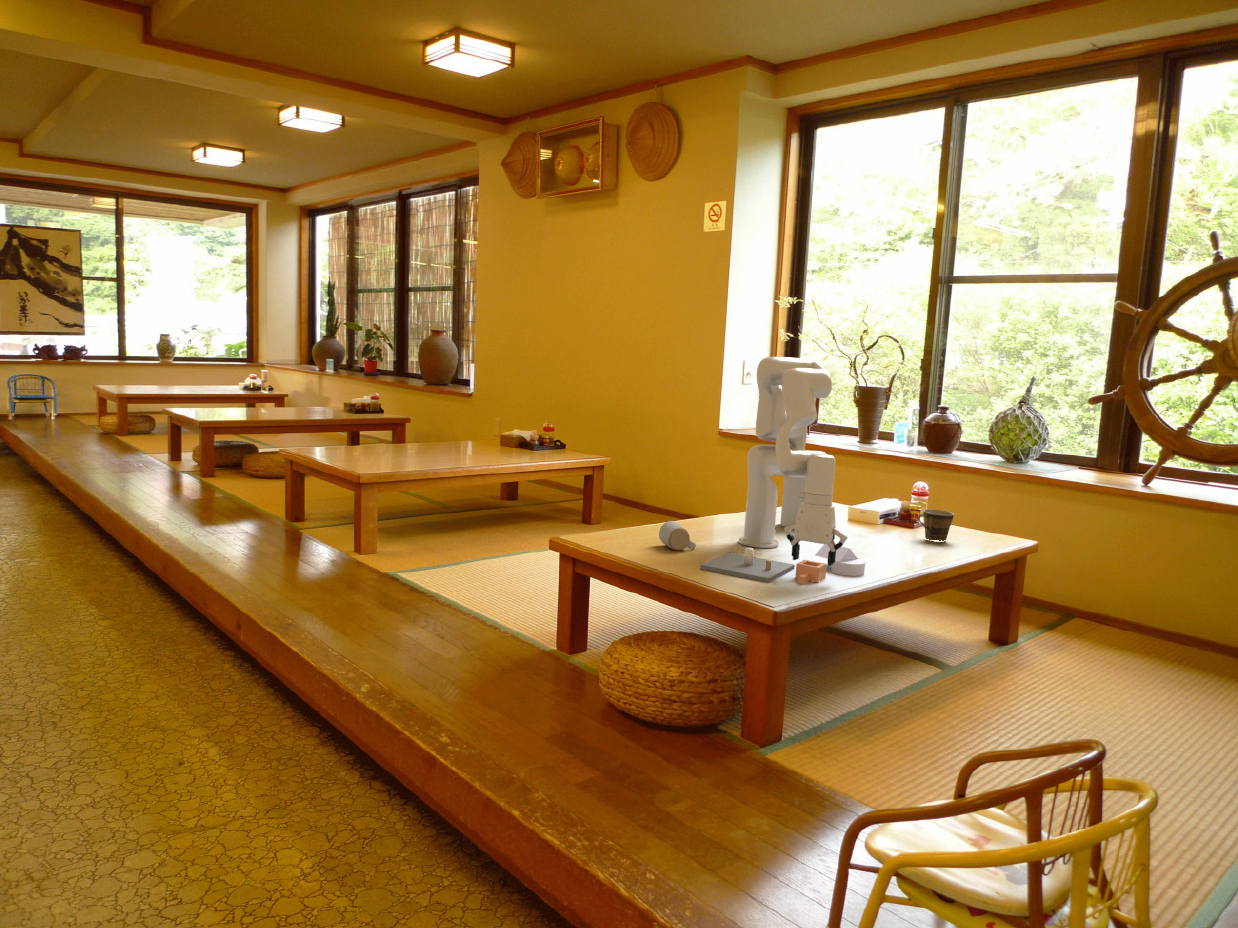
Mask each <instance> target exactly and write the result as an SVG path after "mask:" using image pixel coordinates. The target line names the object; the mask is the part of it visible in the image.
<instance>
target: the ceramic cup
mask: <svg viewBox="0 0 1238 928" xmlns="http://www.w3.org/2000/svg"><path fill="white" fill-rule="evenodd" d="M921 517H923V522H922V521H921V519H920V518H921ZM954 517H955V513H954V512H950V511H947V510H946V511H945V510H942V509H941V510H940V509H924V510H923V511H922V513H921V514H919V515H918V518H917V520H918V522H919V524H921V525H922V526H923V528H924V537H925V538H926V539H929V540H939V541H941V540H942V541H944V540H946V541H947V538H948V534H949V532H950V529H951V526H952V523H953V520H954ZM925 538H924V539H925Z"/></svg>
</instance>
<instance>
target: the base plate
mask: <svg viewBox="0 0 1238 928" xmlns="http://www.w3.org/2000/svg"><path fill="white" fill-rule="evenodd" d="M744 549H745V550H744V554H740V553H735V552H727V553H725V554H723V555H720V556H718V557H715V558H713V559H710V560H709V561H706V562H704V563H700V567H699V568H700V570H704V571H708V572H709V571H710V572H714V573H719V574H725V575H728V576H734V577H740V578H743V579H749V580H754V581H758V580H760V581H759V582H763V581H765V582H764V583H768V582H769V583H771V582H773V581H775V580H776V579H778V578H780V577H782V576H785V574H788V573H789V572H791V571H793V570H794V569H795V568H796V566H795V565H796V564H793V563H788V562H782V561H779V560H778V561H777V560H772V559H770V560H771V570H766V560H768V559H766V558H762V557H761V558H760V557H756V556H754V552H755V549H754V547H753V548H752V547H745V548H744ZM772 580H773V581H772ZM770 581H771V582H770Z"/></svg>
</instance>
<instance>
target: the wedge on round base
mask: <svg viewBox="0 0 1238 928" xmlns="http://www.w3.org/2000/svg"><path fill="white" fill-rule="evenodd" d="M829 551H830V548H829V547H828V545H827V544H823V545H822V546H821V548H820V549H819V550H818V551H817V552H816V553H815V554H814V556H817V557H818V558H819V557H820V558H822V559H823V558H824V559H827V560H828V552H829ZM865 569H866V561H865V560H864V559H860V558H858V556H857V555H856V554H855V553H854V551H853V550H851V548H848V547H845V546H841V547H840V548H839V549H838V550H836V558H835V563H833V565H831V571H832V572H833V573H835V572H836V573H835V574H838V573H839V575H844V576H848V577H859V576H860V577H861V576H864V575H865ZM863 574H864V575H863Z"/></svg>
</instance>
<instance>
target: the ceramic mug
mask: <svg viewBox="0 0 1238 928" xmlns="http://www.w3.org/2000/svg"><path fill="white" fill-rule="evenodd" d="M658 537H659V540H660V542H661V543H662V544H664V545H665V546H666V547H667V548H669V549H671V550H672V551H683V550H685V549H686V548H687V547H688V548H690V549H693V550H694V549H696V547H697V544H696V543H695V542H694V541H692V540H691V537H690V533H689V531H688V530H687V529H686V528H685V527H683V526H682V525H681V524H680V523H678V522H677V521H675V520H674V521H673V520H668V521H666V522H664V523H663V524H662V525H661V526H660V528H659V531H658Z"/></svg>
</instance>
